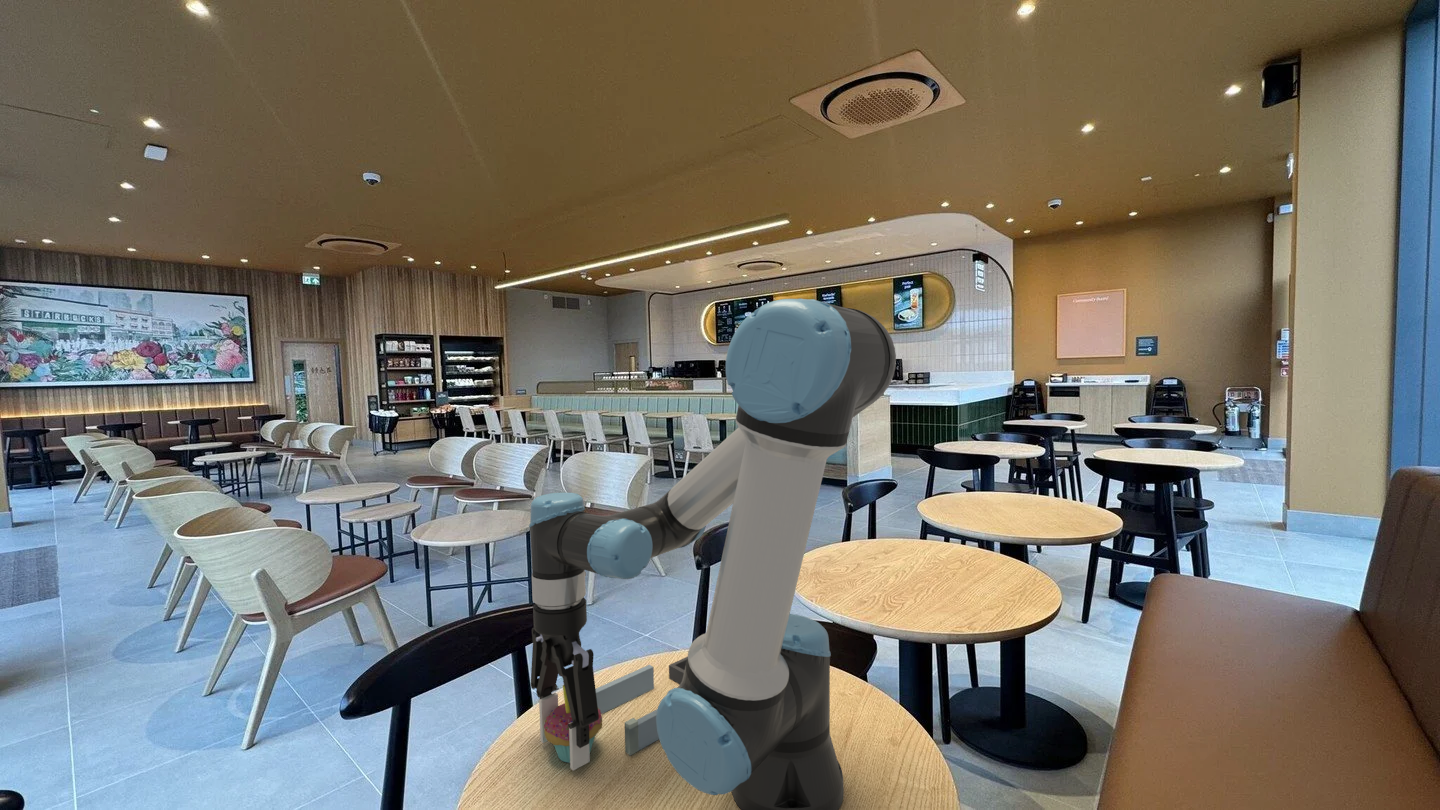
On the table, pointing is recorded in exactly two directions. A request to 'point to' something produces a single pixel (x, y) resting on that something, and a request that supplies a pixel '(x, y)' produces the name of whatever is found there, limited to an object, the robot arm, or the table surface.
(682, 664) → the bin
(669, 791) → the table surface
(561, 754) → the cupcake
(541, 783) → the table surface
